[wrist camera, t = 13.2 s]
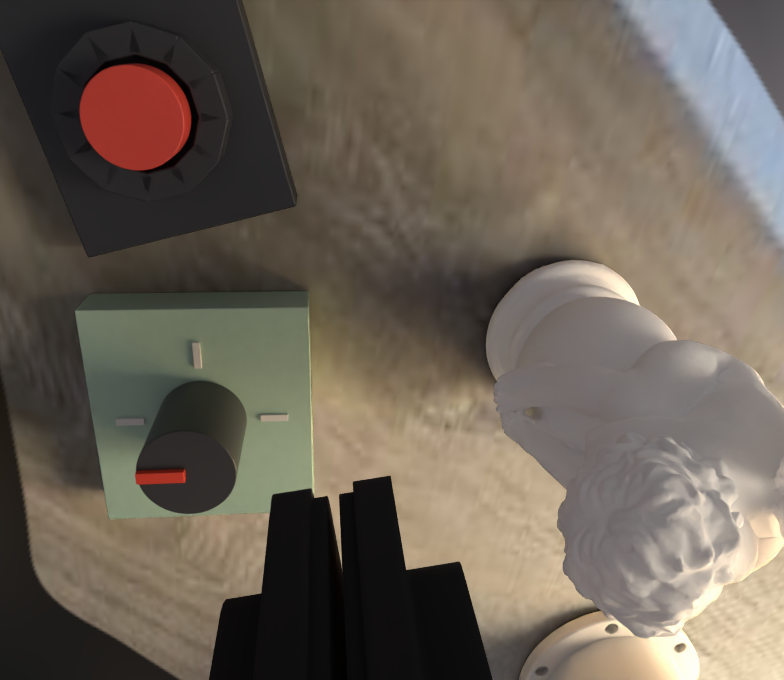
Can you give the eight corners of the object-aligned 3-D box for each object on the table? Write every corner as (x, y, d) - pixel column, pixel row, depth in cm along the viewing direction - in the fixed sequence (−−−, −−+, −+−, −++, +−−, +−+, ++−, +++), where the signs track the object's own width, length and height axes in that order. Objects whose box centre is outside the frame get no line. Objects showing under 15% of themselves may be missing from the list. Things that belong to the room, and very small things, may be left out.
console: (314, 485, 41) (313, 513, 39) (120, 492, 40) (107, 521, 38) (308, 290, 37) (308, 308, 34) (89, 293, 36) (72, 311, 33)
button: (204, 151, 30) (198, 157, 29) (113, 173, 30) (102, 181, 29) (172, 52, 29) (163, 53, 27) (76, 76, 29) (61, 78, 27)
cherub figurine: (437, 362, 39) (565, 705, 19) (548, 153, 35) (858, 302, 15) (618, 434, 42) (895, 796, 22) (738, 249, 38) (1210, 480, 18)
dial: (244, 379, 36) (232, 432, 31) (249, 454, 37) (239, 516, 32) (154, 381, 35) (128, 436, 30) (163, 457, 37) (140, 520, 32)
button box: (297, 196, 35) (295, 215, 31) (100, 246, 35) (75, 269, 31) (227, -51, 31) (215, -64, 27) (2, 5, 31) (-41, 0, 27)
